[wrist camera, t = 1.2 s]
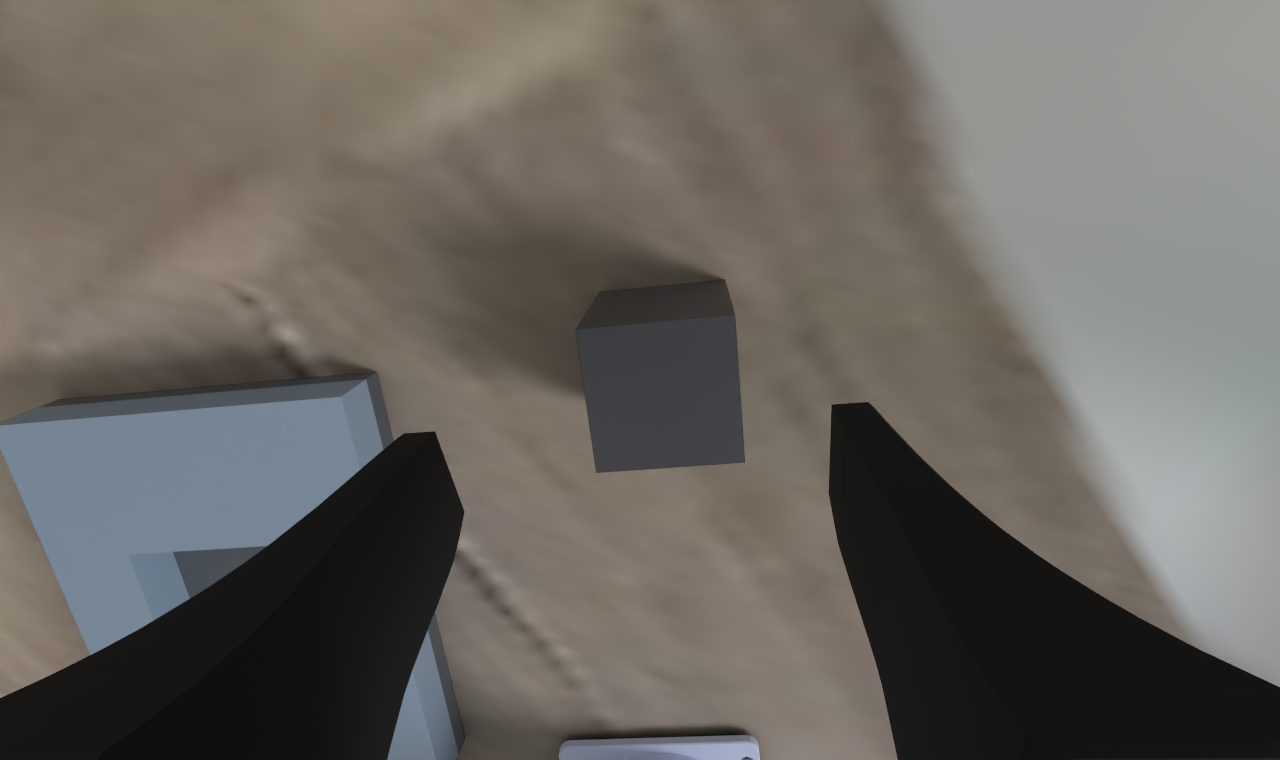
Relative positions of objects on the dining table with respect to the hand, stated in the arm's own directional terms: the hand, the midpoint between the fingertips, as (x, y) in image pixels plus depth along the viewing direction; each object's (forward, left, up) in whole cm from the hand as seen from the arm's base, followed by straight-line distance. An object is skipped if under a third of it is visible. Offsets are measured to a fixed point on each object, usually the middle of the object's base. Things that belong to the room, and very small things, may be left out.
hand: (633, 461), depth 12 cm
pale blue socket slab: (-9, +16, -10) cm, 21 cm away
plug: (-1, 0, -10) cm, 10 cm away
